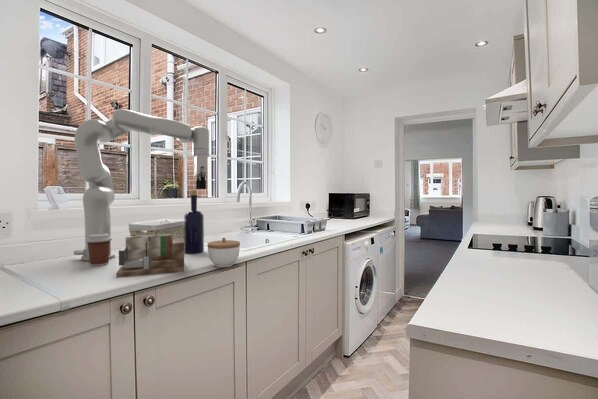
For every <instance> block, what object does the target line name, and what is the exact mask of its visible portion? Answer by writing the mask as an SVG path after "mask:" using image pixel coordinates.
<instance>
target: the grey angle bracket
mask: <svg viewBox="0 0 598 399" xmlns="http://www.w3.org/2000/svg"><path fill="white" fill-rule="evenodd" d="M122 265H125V269H127V268H140V267H144V258H138V259H128V246H126V245H125V246H122V247H121V248H120V249H118V266H120V267H121V266H122Z"/></svg>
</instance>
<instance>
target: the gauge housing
mask: <svg viewBox="0 0 598 399" xmlns="http://www.w3.org/2000/svg"><path fill="white" fill-rule="evenodd" d="M146 242H147V257H149V269H144V267H140V268H127V269H125V265H120V267H119V269H118V270H117V271H116V274H115V277H116V278H125V277H137V276H148V275H149V276H150V275H160V274H172V273H173V274H175V273H184V272H185V247H184V238H176V234H173V235H150V236H130V235H128V236H127V235H126V236H125V246H128V259H138V258H144V257H146Z"/></svg>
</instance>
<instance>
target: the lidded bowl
mask: <svg viewBox="0 0 598 399" xmlns="http://www.w3.org/2000/svg"><path fill="white" fill-rule="evenodd" d="M240 245H241V243H240V241H238V240H233V239H232V240H231V239H226V237H222V238H221V239H220V240H214V241H209V242H207V254H208V259H209V261H210V262H211V263H212V264H213V265H214V267H216V268H230V267H232V266H233V265H234V264H235V263H236V262H237V260H238V258H239V256H240V249H241V248H240Z"/></svg>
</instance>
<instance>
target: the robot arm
mask: <svg viewBox="0 0 598 399" xmlns="http://www.w3.org/2000/svg"><path fill="white" fill-rule="evenodd" d="M111 118H112V119H109V120H107V121H105V122H104V121H102V120H100V119H95V118H92V119H87V120H85V121H83V122H82V123H81V124H80V125H79V126H78V127H77V129H76V130H75V133H74V146H75V151H76V158H77V162H78V168H79V172H80V177H81V178H82V180H83V181H84V182H85V183H88V187H89V188H87V189H86V190H85V191H84V193H83V195H82V204H83V205H82V206H83V211H84V213H83V214H84V248H83V249H74V250H73V255H76V256H80V255H82V256H81V257H80V260H81V261H84V262H90V260H89V252H88V243H87V242H85V240H86V239H87V238H89V235H91V234H109V236H110V237H111V238H112V236H111V233H112V232H111V230H112V229H111V228H112V227H111V226H112V224H111V210H110V209H111V207H110V205H112V204H113V203H114V200H115V196H116V195H115V191H114V185H113V181H112V175H111V172H110V170H109V168H108V166H106V165H105V164H103V161H102V157H101V151H100V150H101V149H100V148H99V143H103V144H105V143H109V142H112V141H114V140H116V139H118V138H120V137H122V136H124V135H127V134H129V133H130V132H137V133H140V134H144V135H149V136H155V135H156V136H157V135H162V136H166V137H171V138H175V139H177V141H178V142H180V143H183V144H185V143H186V144H187V143H192V157H194V158H193V159H194V161H193V170H194V171H193V177H194V178H196V180H195V190H206V189H207V178H206V177H207V175H208V160H207V159H208V158H209V157H210V131H209V128H207V127H204V126H194V127H193V128H192V127H191V126H190V125H189V124H188V123H185V122H182V121H179V120H174V119H169V118H166V117H159V116H153V115H149V114H144V113H142V112H137V111H134V110H130V109H125V108H117V109H116V110H114V111H113V113H112V117H111ZM111 244H112V240H111V241H110V250H109V259H113V258H115V257H116V253H114V252H112V245H111Z"/></svg>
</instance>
